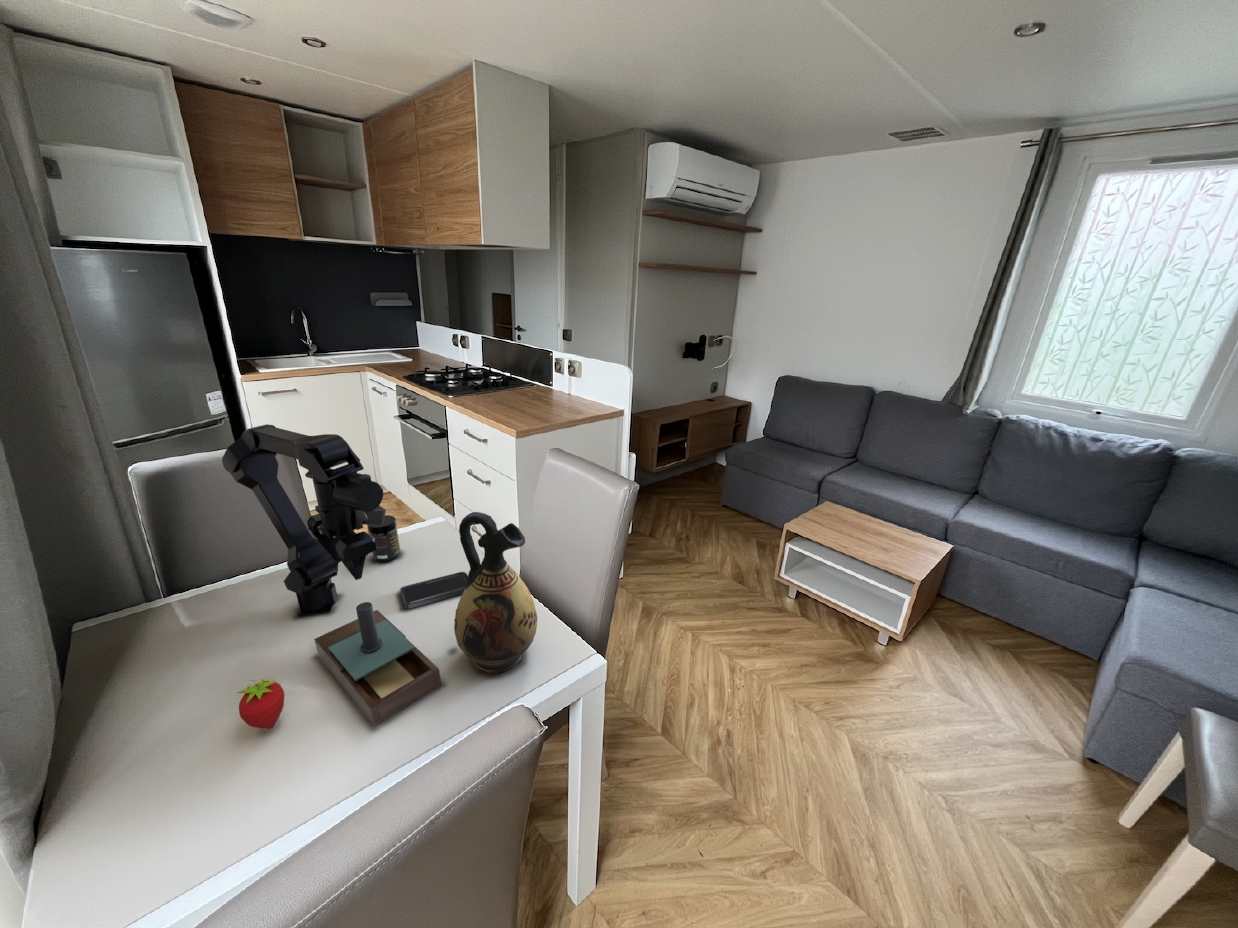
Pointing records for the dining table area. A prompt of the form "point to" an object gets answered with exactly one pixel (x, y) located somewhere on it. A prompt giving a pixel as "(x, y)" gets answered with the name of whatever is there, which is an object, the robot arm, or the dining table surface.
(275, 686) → the strawberry
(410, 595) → the phone
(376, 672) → the sliding lid box
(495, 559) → the ceramic jug
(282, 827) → the dining table surface
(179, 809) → the dining table surface
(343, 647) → the peg plate
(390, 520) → the supplement container
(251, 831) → the dining table surface
